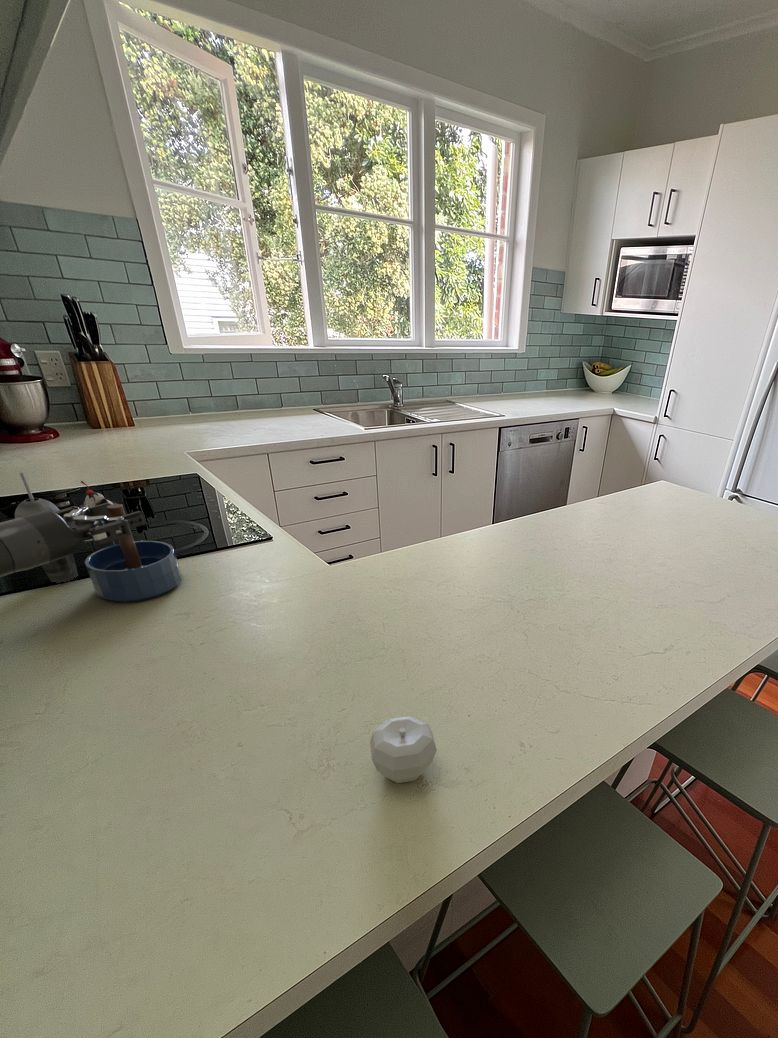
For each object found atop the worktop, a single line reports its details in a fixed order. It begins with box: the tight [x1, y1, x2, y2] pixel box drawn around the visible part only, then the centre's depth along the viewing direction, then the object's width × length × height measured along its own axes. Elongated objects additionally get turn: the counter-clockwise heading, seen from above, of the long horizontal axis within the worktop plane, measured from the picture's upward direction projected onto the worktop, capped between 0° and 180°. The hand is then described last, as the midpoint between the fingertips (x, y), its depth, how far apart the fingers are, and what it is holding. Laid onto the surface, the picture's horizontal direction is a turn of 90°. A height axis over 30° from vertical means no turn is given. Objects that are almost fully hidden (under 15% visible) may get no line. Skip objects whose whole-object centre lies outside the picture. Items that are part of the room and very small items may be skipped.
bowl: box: [84, 540, 183, 603], centre depth 101 cm, size 14×14×6 cm
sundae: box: [78, 480, 118, 547], centre depth 112 cm, size 7×7×15 cm
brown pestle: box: [107, 503, 146, 570], centre depth 99 cm, size 4×4×15 cm
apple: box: [369, 715, 438, 784], centre depth 63 cm, size 8×8×7 cm
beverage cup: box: [14, 471, 79, 584], centre depth 100 cm, size 7×7×20 cm
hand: (127, 512), depth 97 cm, fingers open, 8 cm apart
